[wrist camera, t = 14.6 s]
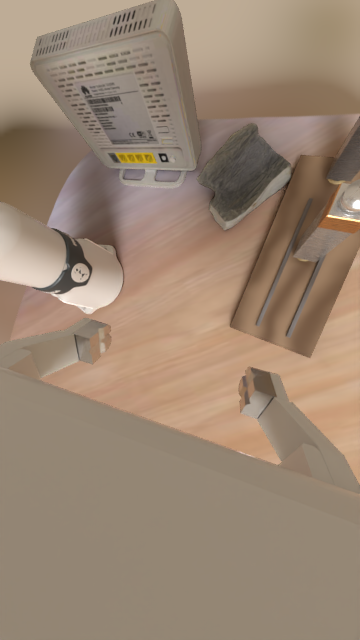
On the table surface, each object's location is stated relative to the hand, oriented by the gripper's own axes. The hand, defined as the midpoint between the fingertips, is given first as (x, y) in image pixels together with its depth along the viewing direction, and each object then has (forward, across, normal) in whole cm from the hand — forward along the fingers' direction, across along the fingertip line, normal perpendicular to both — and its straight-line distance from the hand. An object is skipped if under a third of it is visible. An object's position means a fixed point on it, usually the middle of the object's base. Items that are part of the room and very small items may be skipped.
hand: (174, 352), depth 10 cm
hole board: (+30, -16, -5) cm, 35 cm away
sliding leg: (+28, -16, -6) cm, 33 cm away
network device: (+45, +20, -16) cm, 52 cm away
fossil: (+40, -1, -15) cm, 43 cm away
